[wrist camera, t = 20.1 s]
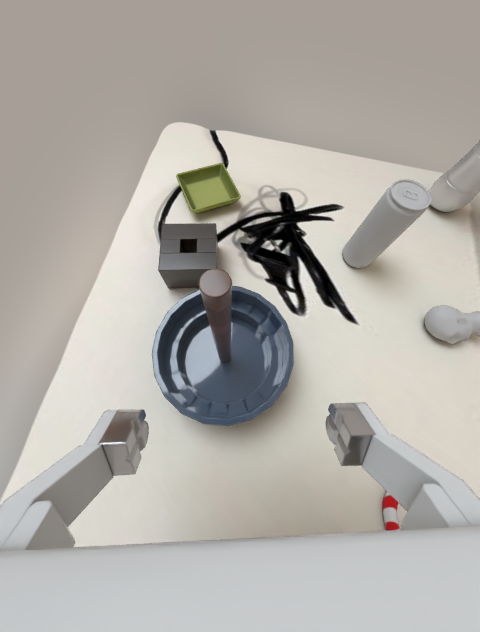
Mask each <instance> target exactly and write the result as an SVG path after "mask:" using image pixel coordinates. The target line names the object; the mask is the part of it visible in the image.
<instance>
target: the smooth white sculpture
mask: <svg viewBox="0 0 480 632" xmlns="http://www.w3.org/2000/svg"><path fill="white" fill-rule="evenodd" d="M425 326H426V328H427V330H428V331H429V333H430V334H431V335H433V336H434V337H436V338H437V339H440V340H445V341H446V342H448V343H450V344H455V343H457V342H459V341H462V340H467V339H469V338H470V336H471V334H472V333H473V334H474V335H477V336H480V311H476V312H472V313H462V312H460V311H459V310H457V309H455V308H453V307H450V306H446V305H440V306H436V307H433V308H431V309H430V310H429V311H428V312H427V314H426V316H425Z"/></svg>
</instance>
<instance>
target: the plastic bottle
mask: <svg viewBox="0 0 480 632" xmlns="http://www.w3.org/2000/svg"><path fill="white" fill-rule="evenodd" d="M479 192H480V141H479V142H478V143H477V144H476V145H475V146H474V147H473V148H472V149H471V151H470V152H469V153H468V154H466V155H465V156H464V158H462V159H461V160H460V161H459V162H458V163H457V164H456V165H455V166H454V167H452V168H451V169H450V170H449V171H447V172H446V173H445V174H443V175H442V176H441V177H440V178H439V179H438V180H436V181H435V183H434V184H433V185H432V187H431V188H430V190H429V193H430V195H431V203H430V204H431V206H433V207H434V208H435V209H437V210H439V211H442V212H451V211H455V210H458V209H460V208H461V207H463V206H465V205H466V204H468V203H469V202H470V201H471V200H472V199H473V198H474V197H475V196H476V195H477V194H478V193H479Z"/></svg>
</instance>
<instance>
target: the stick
mask: <svg viewBox="0 0 480 632" xmlns="http://www.w3.org/2000/svg"><path fill="white" fill-rule="evenodd" d="M199 288H200V292H201V296H202V299H203V303H204V306H205V310H206V314H207V317H208V321H209V325H210V328H211V332H212V335H213V339H214V343H215V346H216V350H217V353H218V357H219V360H220V361H221V362H228V361H229V360H230V358H231V309H232V280H231V277H230V276H229V274H228V273H226V272H225V271H223V270H221V269H210V270H207V271H206V272H204V273H203V274H202V275H201V277H200V279H199Z"/></svg>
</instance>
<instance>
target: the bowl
mask: <svg viewBox="0 0 480 632" xmlns="http://www.w3.org/2000/svg"><path fill="white" fill-rule="evenodd" d="M152 359H153V368H154V375H155V378H156V380H157V382H158V384H159V386H160V388H161V391H162V393H163V395H164V396H165V398H166V399H167V400H168V401H169V402H170V403H171V404H172V405H173V406H174V407H175V408H176V409H177V410H178V411H179V412H180V413H182V414H183V415H186V416H188V417H190V418H192V419H194V420H197V421H199V422H201V423H203V424H213V425H226V426H228V425H229V426H230V425H233V424H237V423H240V422H244V421H248V420H251V419H254V418H255V417H256V416H258V415H259V414H261V413H262V412H264V411H265V410H266V409H268V408H269V407H271V406H272V405H273V404H274V403H275V401H276V400H277V399H278V397H279V396H280V394H281V393H282V392H283V390H284V389H285V388H286V386H287V383H288V380H289V377H290V374H291V371H292V367H293V341H292V338H291V335H290V332H289V329H288V326H287V323H286V321H285V320H284V318H283V317H282V316H281V314H280V313H279V312H278V310H277V309H276V307H275V306H274V305H273V304H271V303H270V302H269V301H267V300H266V299H265V298H263V297H262V296H261V295H259V294H258V293H255V292H252V291H250V290H247V289H245V288H242V287H238V286H232V309H231V358H230V360H229V361H228V362H221V361H220V360H219V357H218V353H217V350H216V346H215V343H214V339H213V335H212V332H211V328H210V325H209V321H208V317H207V314H206V310H205V306H204V303H203V299H202V296H201V292H200V289H199V290H197V291H196V292H194V293H192V294H190V295H188V296H186V297H184V298H182V299H181V300H180V301H179V302H178V303H177V304H176V305H175V306H174V307H173V308H171V309H170V310H169V311H168V312H167V314H166V316H165V317H164V319H163V321H162V323H161V324H160V326H159V328H158V330H157V332H156V336H155V341H154V345H153V350H152Z"/></svg>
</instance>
